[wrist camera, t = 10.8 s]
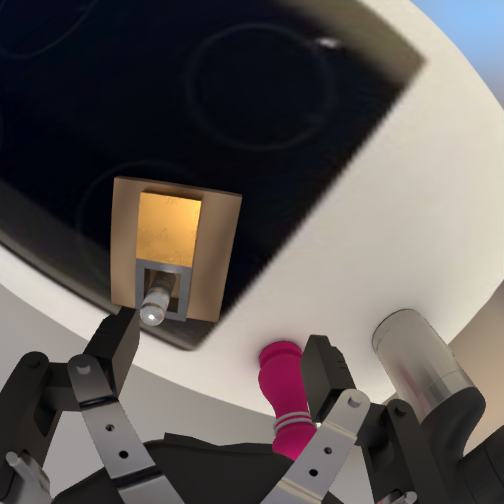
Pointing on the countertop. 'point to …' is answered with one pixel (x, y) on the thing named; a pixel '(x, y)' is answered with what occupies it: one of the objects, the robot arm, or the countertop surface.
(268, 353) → the pepper mill
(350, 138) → the countertop surface
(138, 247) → the link
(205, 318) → the board
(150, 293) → the post
